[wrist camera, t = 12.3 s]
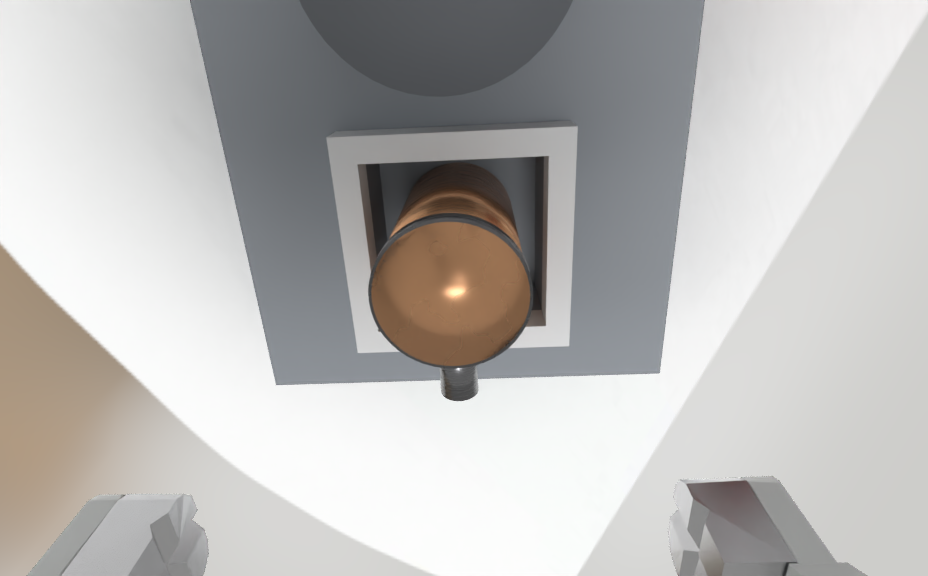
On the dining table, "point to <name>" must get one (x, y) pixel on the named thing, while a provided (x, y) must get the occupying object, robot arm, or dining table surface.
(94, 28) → the dining table surface
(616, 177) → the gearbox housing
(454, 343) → the spout can
